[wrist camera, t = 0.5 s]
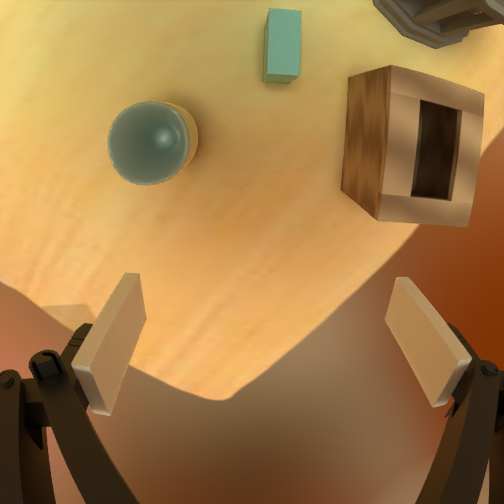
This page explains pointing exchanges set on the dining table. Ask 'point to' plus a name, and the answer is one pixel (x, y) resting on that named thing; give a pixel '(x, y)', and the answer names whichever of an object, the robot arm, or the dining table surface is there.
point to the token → (282, 46)
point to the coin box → (412, 146)
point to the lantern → (440, 18)
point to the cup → (152, 142)
